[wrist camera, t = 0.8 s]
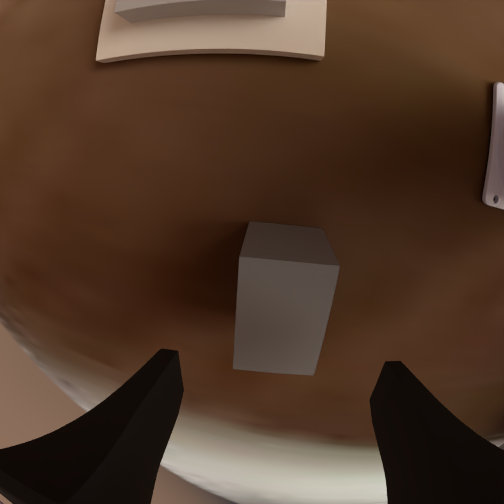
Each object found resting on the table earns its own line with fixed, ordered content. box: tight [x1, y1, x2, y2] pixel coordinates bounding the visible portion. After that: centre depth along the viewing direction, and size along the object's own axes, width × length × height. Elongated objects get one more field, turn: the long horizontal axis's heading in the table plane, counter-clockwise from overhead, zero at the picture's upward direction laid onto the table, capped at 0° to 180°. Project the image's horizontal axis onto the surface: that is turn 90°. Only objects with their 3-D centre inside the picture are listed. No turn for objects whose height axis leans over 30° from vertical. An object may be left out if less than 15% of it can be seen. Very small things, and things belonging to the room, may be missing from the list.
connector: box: [233, 221, 340, 375], centre depth 15 cm, size 4×6×5 cm, turn 176°
